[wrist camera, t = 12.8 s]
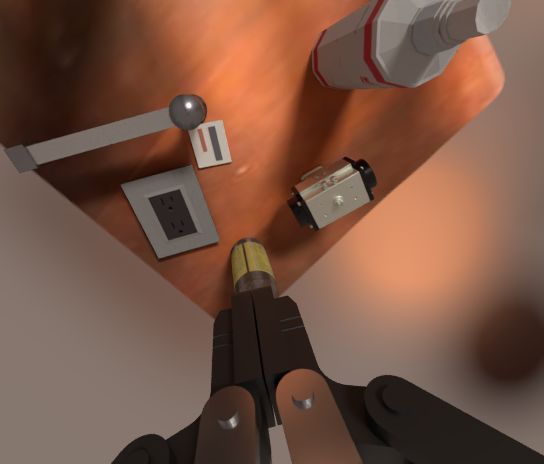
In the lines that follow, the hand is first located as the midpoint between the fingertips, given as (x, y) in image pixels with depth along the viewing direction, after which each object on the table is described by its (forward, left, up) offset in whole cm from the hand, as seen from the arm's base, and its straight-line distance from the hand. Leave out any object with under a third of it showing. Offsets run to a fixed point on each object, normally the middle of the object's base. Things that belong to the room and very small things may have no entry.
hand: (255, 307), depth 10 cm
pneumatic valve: (+7, +12, -35) cm, 38 cm away
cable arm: (-5, -13, -29) cm, 32 cm away
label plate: (-1, -3, -35) cm, 35 cm away
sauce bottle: (+18, -1, -35) cm, 40 cm away
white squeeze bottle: (-9, +17, -35) cm, 40 cm away
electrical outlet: (+8, -11, -36) cm, 38 cm away
